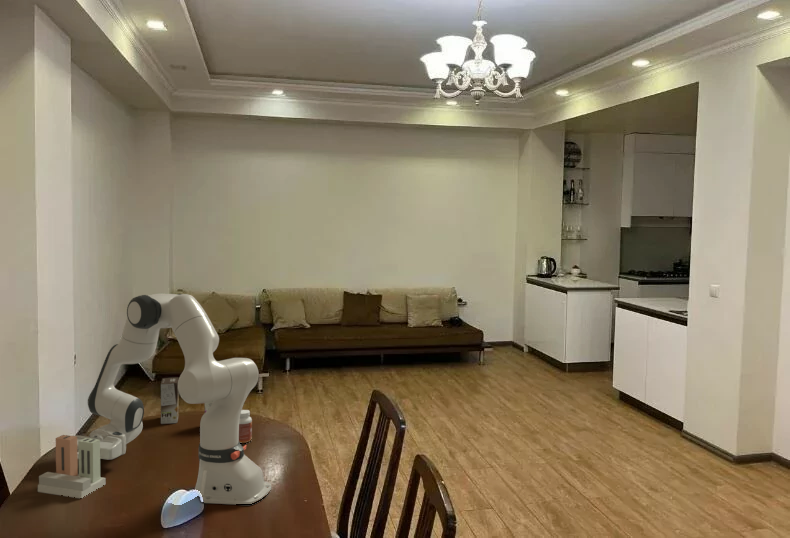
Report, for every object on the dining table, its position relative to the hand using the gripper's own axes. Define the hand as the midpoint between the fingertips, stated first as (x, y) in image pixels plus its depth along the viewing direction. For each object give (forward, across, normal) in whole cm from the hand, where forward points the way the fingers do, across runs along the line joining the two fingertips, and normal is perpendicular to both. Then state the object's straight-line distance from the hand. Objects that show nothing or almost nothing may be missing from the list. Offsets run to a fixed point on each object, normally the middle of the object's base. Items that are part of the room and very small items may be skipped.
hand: (71, 456), depth 190 cm
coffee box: (-58, -5, +8) cm, 58 cm away
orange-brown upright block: (+2, 0, +5) cm, 6 cm away
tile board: (+4, +4, +8) cm, 10 cm away
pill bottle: (-46, +33, +8) cm, 57 cm away
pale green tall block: (+2, +8, +5) cm, 10 cm away
